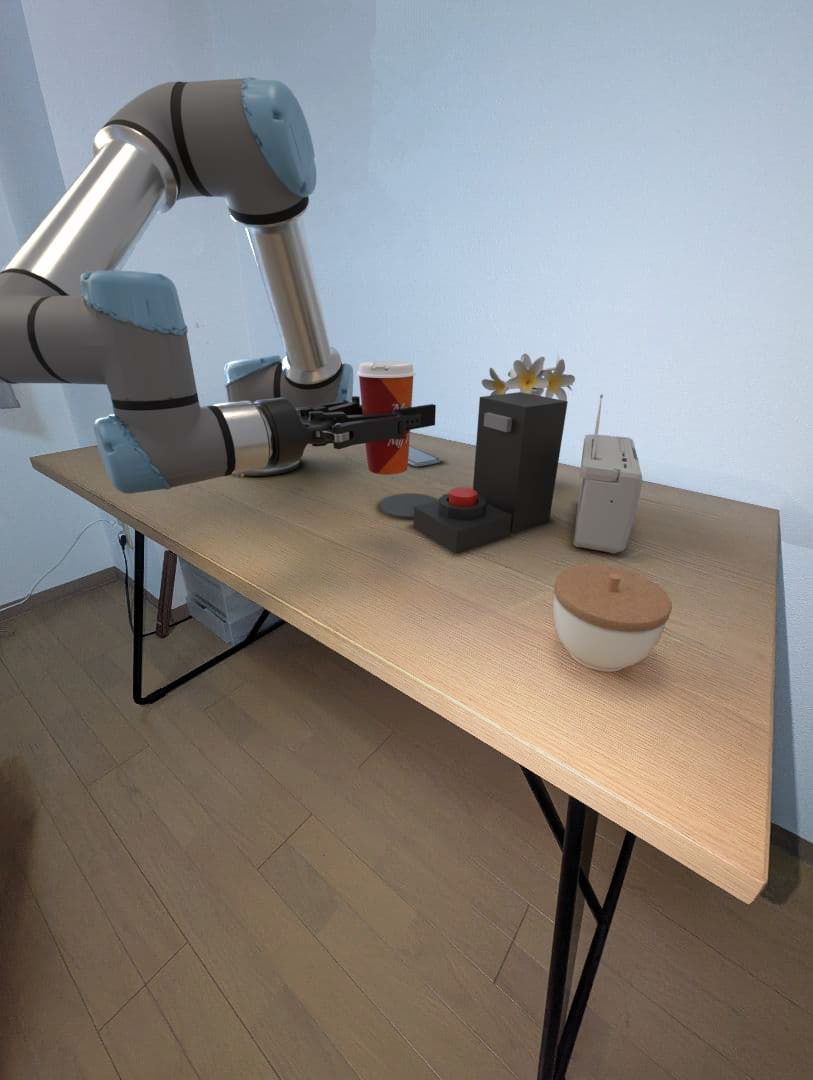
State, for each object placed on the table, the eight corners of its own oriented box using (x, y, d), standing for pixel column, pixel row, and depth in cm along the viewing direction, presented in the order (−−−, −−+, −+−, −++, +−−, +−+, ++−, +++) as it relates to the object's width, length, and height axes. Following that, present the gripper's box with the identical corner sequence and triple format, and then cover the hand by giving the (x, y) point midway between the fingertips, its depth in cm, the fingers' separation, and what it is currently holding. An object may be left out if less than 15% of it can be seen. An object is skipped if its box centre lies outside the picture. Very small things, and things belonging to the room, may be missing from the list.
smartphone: (415, 464, 106) (382, 448, 117) (415, 468, 106) (383, 451, 118) (442, 459, 110) (407, 444, 121) (442, 462, 110) (407, 447, 121)
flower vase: (465, 484, 97) (474, 354, 85) (524, 468, 107) (538, 349, 96) (514, 503, 87) (531, 360, 76) (573, 483, 98) (596, 354, 86)
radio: (625, 559, 68) (659, 421, 59) (566, 550, 71) (590, 416, 62) (620, 508, 86) (645, 395, 77) (573, 502, 88) (592, 392, 79)
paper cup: (409, 478, 62) (409, 366, 56) (353, 475, 64) (348, 365, 58) (419, 462, 69) (420, 361, 63) (369, 459, 71) (365, 359, 65)
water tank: (466, 514, 83) (474, 397, 74) (507, 502, 88) (519, 391, 79) (507, 534, 75) (521, 407, 67) (549, 521, 80) (568, 401, 72)
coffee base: (413, 527, 78) (414, 496, 75) (464, 513, 83) (466, 483, 81) (455, 553, 70) (457, 519, 67) (509, 536, 75) (513, 504, 73)
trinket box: (539, 672, 47) (553, 593, 43) (550, 613, 56) (562, 543, 52) (657, 701, 44) (684, 618, 40) (648, 634, 53) (670, 561, 49)
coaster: (369, 503, 87) (369, 500, 87) (418, 492, 92) (418, 489, 92) (401, 524, 79) (402, 521, 78) (453, 510, 84) (453, 507, 84)
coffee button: (442, 501, 75) (443, 490, 74) (464, 495, 77) (464, 485, 76) (460, 510, 71) (461, 499, 71) (482, 504, 74) (483, 493, 73)
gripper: (233, 448, 61) (376, 424, 74) (303, 490, 48) (464, 451, 61) (223, 389, 58) (375, 374, 71) (296, 415, 45) (467, 392, 58)
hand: (416, 410), depth 66 cm, fingers closed on paper cup, 6 cm apart
